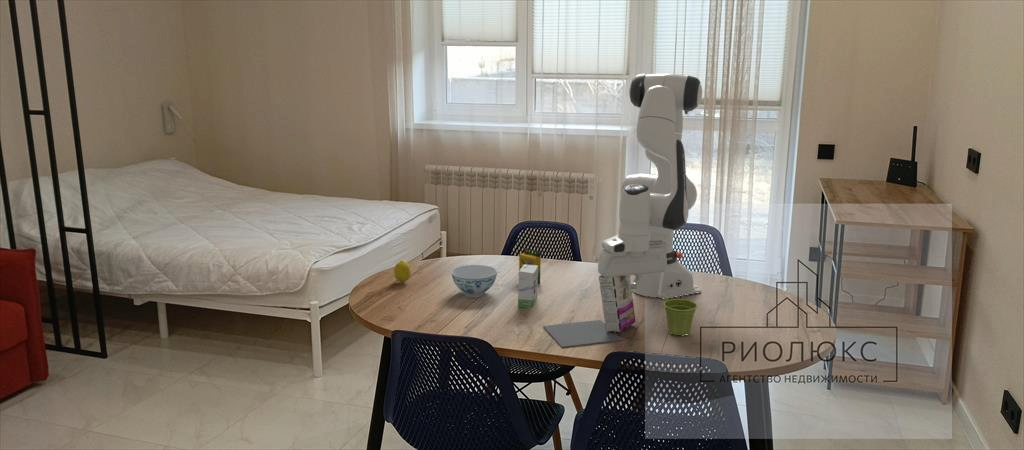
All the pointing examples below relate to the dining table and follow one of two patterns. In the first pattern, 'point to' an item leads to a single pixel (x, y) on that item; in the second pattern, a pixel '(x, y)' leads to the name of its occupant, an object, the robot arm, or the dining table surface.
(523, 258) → the crayon box
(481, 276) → the chinaware
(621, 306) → the candy bar box
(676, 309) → the plant pot
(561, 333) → the mat
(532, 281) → the ink box
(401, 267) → the lemon
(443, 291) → the dining table surface
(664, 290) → the robot arm
